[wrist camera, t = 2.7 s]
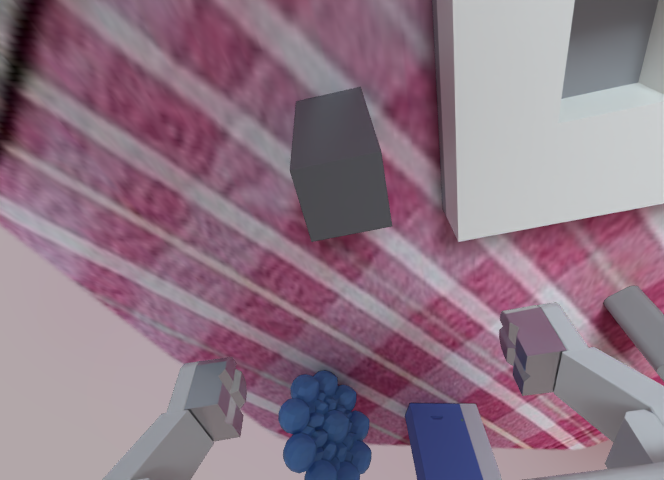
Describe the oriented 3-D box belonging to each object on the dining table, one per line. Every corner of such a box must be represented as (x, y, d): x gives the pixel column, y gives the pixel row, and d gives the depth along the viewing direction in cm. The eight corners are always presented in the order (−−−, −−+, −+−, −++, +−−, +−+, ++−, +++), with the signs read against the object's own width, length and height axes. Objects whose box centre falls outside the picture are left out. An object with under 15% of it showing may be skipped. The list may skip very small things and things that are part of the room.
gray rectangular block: (296, 101, 25) (289, 170, 18) (360, 86, 24) (381, 151, 17) (311, 159, 27) (311, 241, 20) (370, 147, 27) (392, 226, 20)
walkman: (404, 415, 47) (428, 537, 38) (409, 402, 46) (435, 526, 36) (469, 416, 48) (508, 536, 39) (476, 403, 46) (519, 525, 37)
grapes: (254, 366, 40) (237, 500, 31) (304, 335, 38) (301, 470, 28) (331, 410, 46) (337, 535, 36) (379, 386, 43) (398, 513, 34)
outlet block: (423, -162, 18) (448, -183, 15) (845, -281, 16) (975, -332, 13) (442, 208, 30) (458, 241, 27) (686, 161, 28) (734, 190, 25)
